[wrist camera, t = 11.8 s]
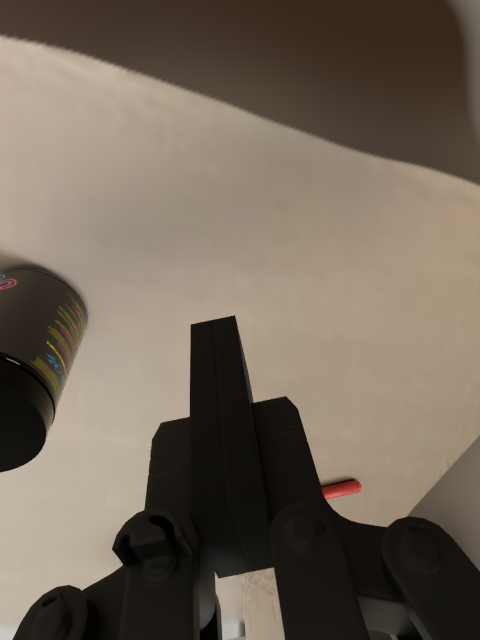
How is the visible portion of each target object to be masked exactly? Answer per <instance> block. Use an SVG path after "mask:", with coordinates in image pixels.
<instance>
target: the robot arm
mask: <svg viewBox="0 0 480 640" xmlns="http://www.w3.org/2000/svg"><path fill="white" fill-rule="evenodd" d="M150 457H151V460H150V465H149V475H148V483H147V492H146V501H145V510H144V511H141V512H139V513H137V514H136V515H134V516H133V517H132V518H130V519H129V520H128V521H127V522H126V523H125V524H124V525H123V527H122V528H121V530H120V531H119V532H118V534H117V536H116V539H115V542H114V545H113V548H112V550H113V551H114V552H115V554H116V555H117V556H118V558H119V559H120V560H121V562H122V563H123V565H122V566H121V567H120V568H119V569H118V570H116V571H115V572H113V573H112V574H110V575H108V576H107V577H105V578H103V579H101V580H100V581H98V582H96V583H94V584H93V585H91V586H89V587H87V588H86V589H84V590H82V591H81V590H80V589H78V588H76V587H73V586H71V585H67V586H60V587H56V588H54V589H52V590H51V591H49V592H47V593H45V594H44V595H42V596H41V597H40V598H39V599H38V600H37V601H36V602H35V603H34V604H33V605H32V606H31V607H30V609H29V611H28V612H27V614H26V615H25V617H24V618H23V620H22V622H21V623H20V625H19V628H18V630H17V632H16V634H15V636H14V638H13V640H222V625H221V609H220V604H219V600H218V597H217V595H216V592H215V572H216V574H217V576H218V578H223V577H228V576H233V575H238V574H243V573H249V572H254V571H259V570H264V569H269V568H274V572H275V578H276V585H277V591H278V598H279V604H280V610H281V617H282V623H283V630H284V636H285V640H370V637H369V634H368V631H367V629H371V630H375V631H380V632H384V633H389V634H390V636H391V638H392V640H480V572H479V570H478V569H477V568H476V567H475V565H474V564H473V563H472V562H471V560H470V559H469V558H468V557H467V556H466V554H465V553H464V552H463V551H462V550H461V548H460V547H459V546H458V545H457V543H456V542H455V541H454V540H453V538H452V537H451V536H450V535H449V534H447V533H446V532H445V531H444V530H443V529H442V528H441V527H440V526H439V525H437V524H435V523H432V522H430V521H428V520H426V519H424V518H417V517H410V516H409V517H405V518H401V519H397V520H396V521H394V522H393V523H392V524H391V525H389V526H388V527H381V526H374V525H367V524H361V523H357V522H353V521H350V520H348V519H346V518H344V517H342V516H340V515H339V514H338V513H337V512H336V511H334V510H333V509H332V508H331V506H330V505H329V504H328V502H327V501H326V499H325V496H324V494H323V492H322V488H321V485H320V482H319V478H318V475H317V472H316V468H315V465H314V462H313V458H312V455H311V452H310V448H309V445H308V442H307V438H306V435H305V432H304V428H303V425H302V422H301V418H300V415H299V411H298V409H297V407H296V406H295V405H294V404H293V403H292V402H291V401H290V400H289V399H288V398H287V397H286V396H285V397H280V398H275V399H270V400H265V401H261V402H256V403H253V397H252V391H251V386H250V380H249V375H248V370H247V366H246V361H245V357H244V353H243V348H242V344H241V339H240V335H239V331H238V326H237V322H236V318H235V315H234V316H230V317H225V318H220V319H215V320H210V321H206V322H201V323H196V324H191V353H190V417H187V418H182V419H178V420H173V421H168V422H163V423H161V424H160V426H159V428H158V430H157V432H156V433H155V435H154V437H153V439H152V446H151V456H150Z"/></svg>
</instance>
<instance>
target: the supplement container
mask: <svg viewBox="0 0 480 640" xmlns="http://www.w3.org/2000/svg"><path fill="white" fill-rule="evenodd" d="M87 320H88V319H87V311H86V308H85V305H84V303H83V301H82V299H81V297H80V296H79V294H78V293H77V292H76V290H75V289H74V288H73V287H72V286H71V285H69V284H68V283H67V282H66V281H64V280H63V279H61V278H59V277H58V276H56V275H53V274H51V273H49V272H46V271H42V270H38V269H31V268H18V269H12V270H7V271H4V272H1V273H0V472H4V471H9V470H12V469H15V468H18V467H20V466H22V465H24V464H26V463H28V462H29V461H31V460H32V459H33V458H35V457H36V456H37V455H38V454H39V452H40V451H41V450H42V448H43V446H44V443H45V441H46V438H47V435H48V433H49V430H50V427H51V425H52V423H53V421H54V418H55V415H56V409H57V406H58V404H59V401H60V398H61V395H62V393H63V390H64V387H65V385H66V382H67V379H68V376H69V374H70V371H71V368H72V366H73V363H74V360H75V358H76V355H77V352H78V349H79V347H80V344H81V341H82V339H83V336H84V333H85V330H86V327H87Z"/></svg>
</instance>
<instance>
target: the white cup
mask: <svg viewBox="0 0 480 640" xmlns="http://www.w3.org/2000/svg"><path fill="white" fill-rule="evenodd" d="M243 605H244V619H245V632H246V640H285V636H284V630H283V623H282V617H281V610H280V604H279V598H278V591H277V585H276V578H275V572H274V568H269V569H264V570H259V571H254V572H249V573H243Z"/></svg>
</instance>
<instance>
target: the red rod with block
mask: <svg viewBox="0 0 480 640" xmlns="http://www.w3.org/2000/svg"><path fill="white" fill-rule="evenodd" d="M360 490H361V484H360V483H359V482H358V481H356V480H354V481H349V482H345V483H340V484H335V485H331V486H326V487H322V492H323V494H324V496H325V499H330V498H335V497H339V496H344V495H349V494H353V493H358V492H359V491H360Z"/></svg>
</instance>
